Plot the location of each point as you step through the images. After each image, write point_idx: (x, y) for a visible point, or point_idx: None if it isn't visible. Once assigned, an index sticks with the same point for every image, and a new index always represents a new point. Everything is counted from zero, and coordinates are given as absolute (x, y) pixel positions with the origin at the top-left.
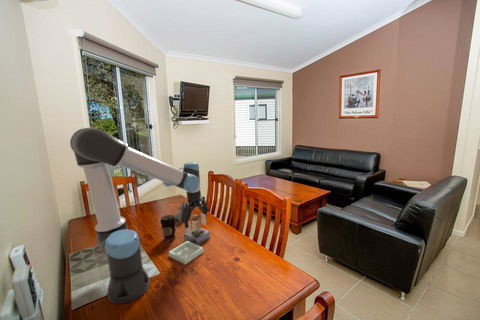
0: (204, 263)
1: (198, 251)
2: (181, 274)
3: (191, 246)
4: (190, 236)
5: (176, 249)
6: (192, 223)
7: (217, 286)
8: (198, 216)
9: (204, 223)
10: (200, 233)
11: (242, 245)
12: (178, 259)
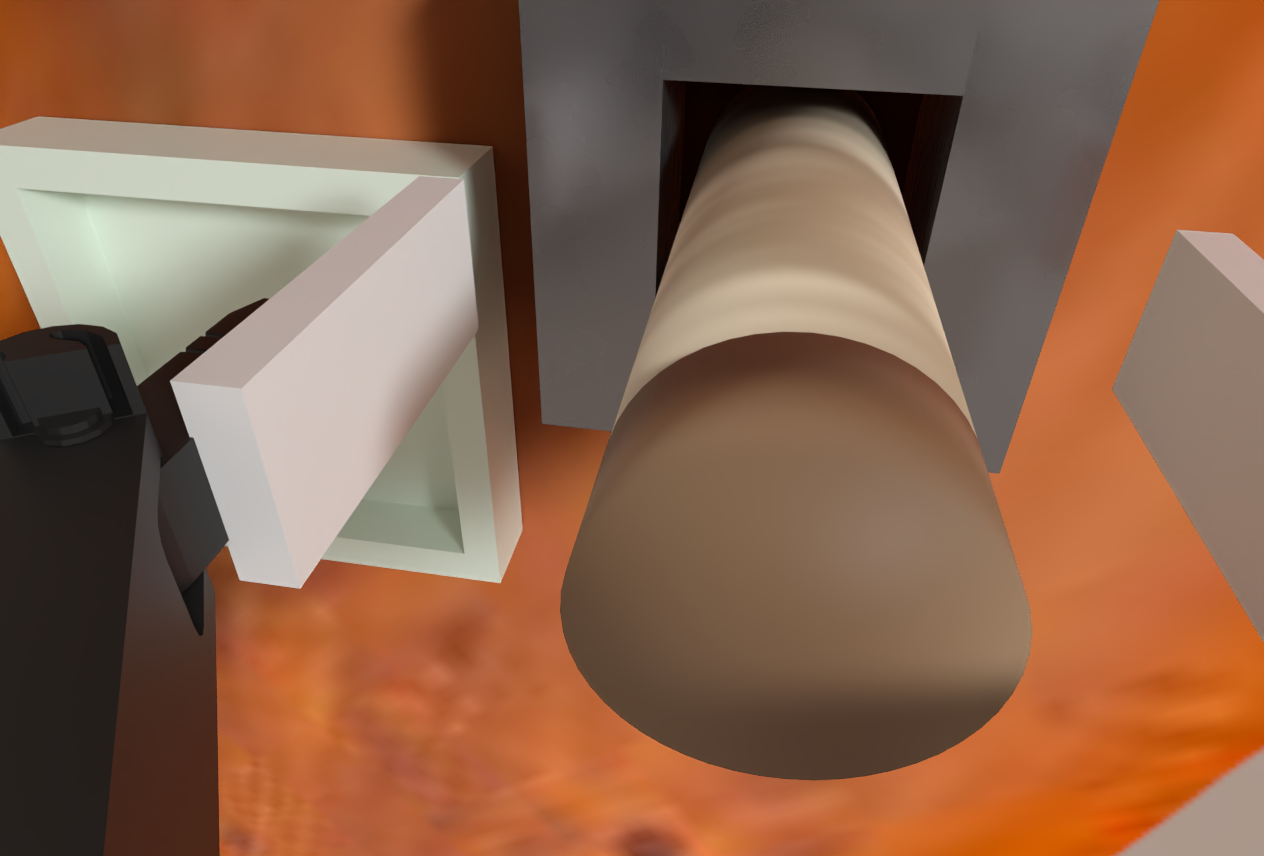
0: (368, 646)
1: (395, 561)
2: None
3: None
4: (535, 224)
5: (140, 191)
6: (649, 324)
7: (270, 830)
8: (796, 775)
9: (1139, 404)
10: None
11: (932, 835)
12: None
